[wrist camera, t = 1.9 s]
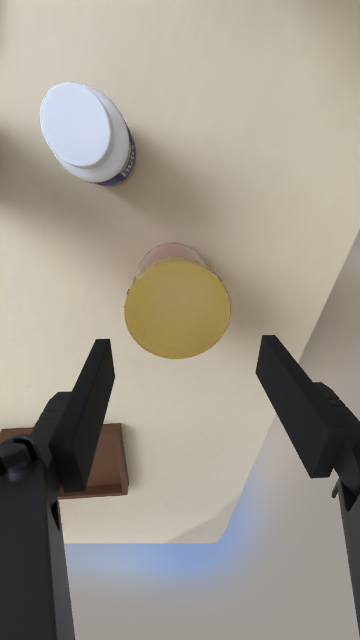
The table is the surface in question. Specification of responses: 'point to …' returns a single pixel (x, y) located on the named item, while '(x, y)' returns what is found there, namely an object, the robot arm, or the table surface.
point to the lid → (177, 308)
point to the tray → (96, 464)
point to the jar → (169, 254)
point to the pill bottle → (87, 134)
